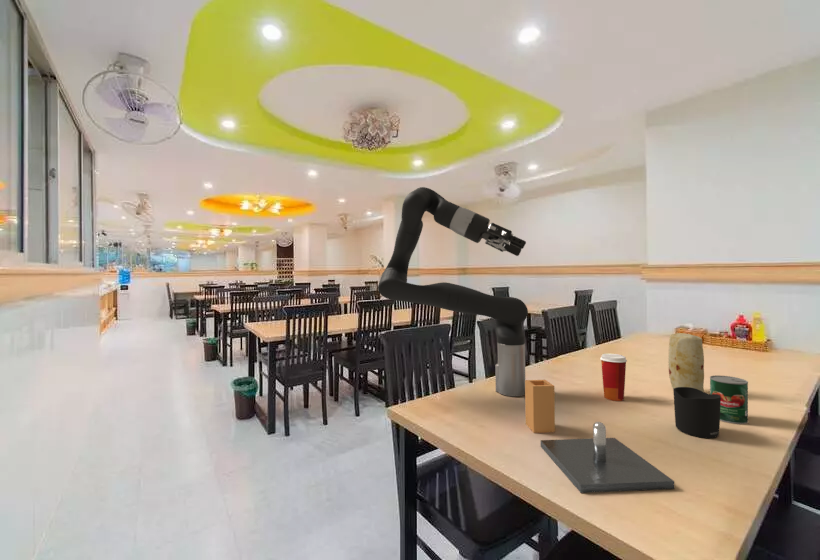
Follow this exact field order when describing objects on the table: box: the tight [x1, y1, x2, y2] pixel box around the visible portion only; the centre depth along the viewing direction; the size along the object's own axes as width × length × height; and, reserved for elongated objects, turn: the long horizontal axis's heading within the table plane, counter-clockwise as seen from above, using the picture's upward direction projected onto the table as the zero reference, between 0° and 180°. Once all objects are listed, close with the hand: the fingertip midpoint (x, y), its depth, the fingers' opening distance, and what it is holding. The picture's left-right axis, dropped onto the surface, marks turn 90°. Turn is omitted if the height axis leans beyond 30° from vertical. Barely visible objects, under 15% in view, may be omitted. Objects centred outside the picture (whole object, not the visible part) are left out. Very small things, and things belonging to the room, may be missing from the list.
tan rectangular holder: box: [524, 379, 556, 434], centre depth 93 cm, size 6×6×12 cm
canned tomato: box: [709, 374, 749, 425], centre depth 98 cm, size 8×8×11 cm
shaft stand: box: [540, 421, 675, 494], centre depth 75 cm, size 18×18×9 cm
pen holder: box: [672, 387, 721, 439], centre depth 90 cm, size 9×9×10 cm
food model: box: [667, 332, 705, 392], centre depth 120 cm, size 10×7×20 cm
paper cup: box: [599, 353, 628, 402], centre depth 115 cm, size 8×8×14 cm
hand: (522, 249), depth 97 cm, fingers open, 8 cm apart
